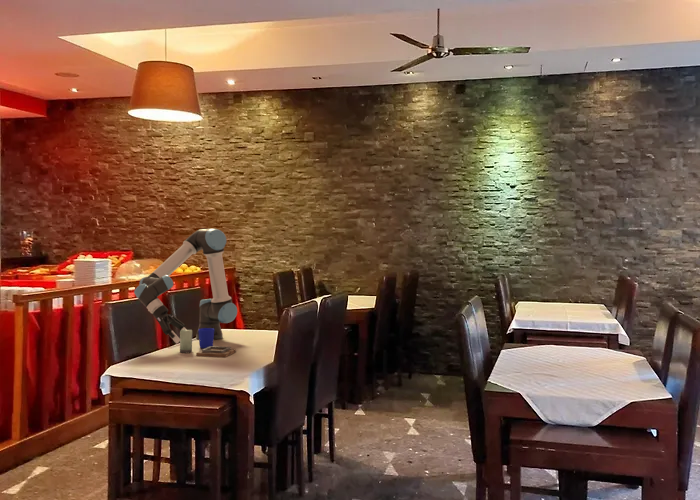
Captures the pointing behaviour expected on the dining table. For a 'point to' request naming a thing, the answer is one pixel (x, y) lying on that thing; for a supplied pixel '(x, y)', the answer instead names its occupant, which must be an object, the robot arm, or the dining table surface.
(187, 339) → the sleeve
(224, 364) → the dining table surface
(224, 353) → the socket board
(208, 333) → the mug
